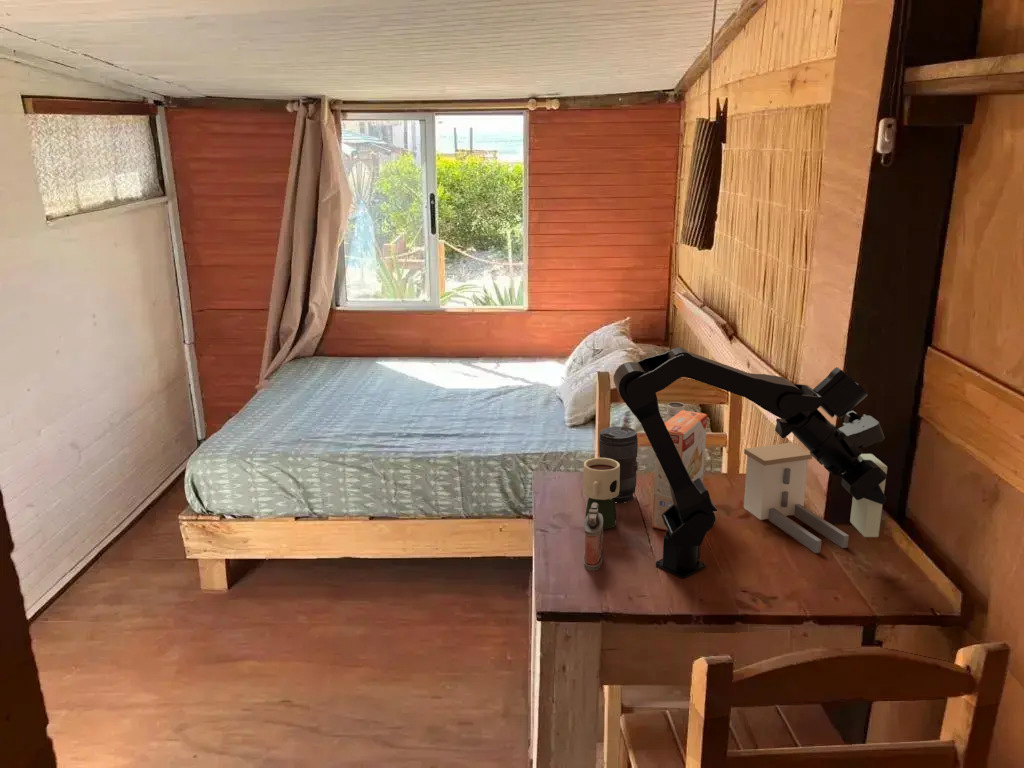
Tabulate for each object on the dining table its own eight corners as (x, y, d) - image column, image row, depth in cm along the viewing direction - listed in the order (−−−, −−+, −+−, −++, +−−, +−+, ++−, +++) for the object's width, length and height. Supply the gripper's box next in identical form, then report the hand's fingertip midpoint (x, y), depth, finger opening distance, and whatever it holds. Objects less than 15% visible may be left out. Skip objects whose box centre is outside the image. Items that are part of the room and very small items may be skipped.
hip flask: (600, 571, 137) (601, 519, 135) (581, 569, 138) (582, 518, 135) (603, 549, 145) (604, 500, 142) (585, 548, 146) (586, 499, 143)
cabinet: (806, 555, 142) (812, 489, 138) (740, 507, 161) (744, 448, 158) (856, 546, 145) (864, 481, 141) (785, 500, 164) (790, 442, 161)
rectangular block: (864, 537, 134) (873, 466, 130) (849, 521, 139) (857, 453, 136) (878, 536, 134) (887, 466, 130) (863, 521, 139) (871, 453, 136)
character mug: (612, 539, 149) (614, 476, 145) (576, 534, 151) (577, 472, 147) (623, 515, 159) (625, 456, 155) (589, 510, 161) (590, 452, 157)
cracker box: (679, 535, 150) (684, 433, 144) (650, 528, 153) (654, 428, 147) (703, 508, 161) (709, 412, 156) (675, 502, 164) (680, 408, 159)
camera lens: (614, 486, 173) (615, 422, 169) (643, 497, 167) (645, 431, 163) (590, 497, 167) (591, 431, 163) (619, 508, 162) (621, 441, 158)
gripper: (881, 421, 121) (942, 485, 124) (833, 387, 139) (888, 444, 142) (825, 468, 123) (886, 530, 126) (786, 429, 141) (840, 484, 144)
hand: (876, 494), depth 135 cm, fingers closed on rectangular block, 6 cm apart
